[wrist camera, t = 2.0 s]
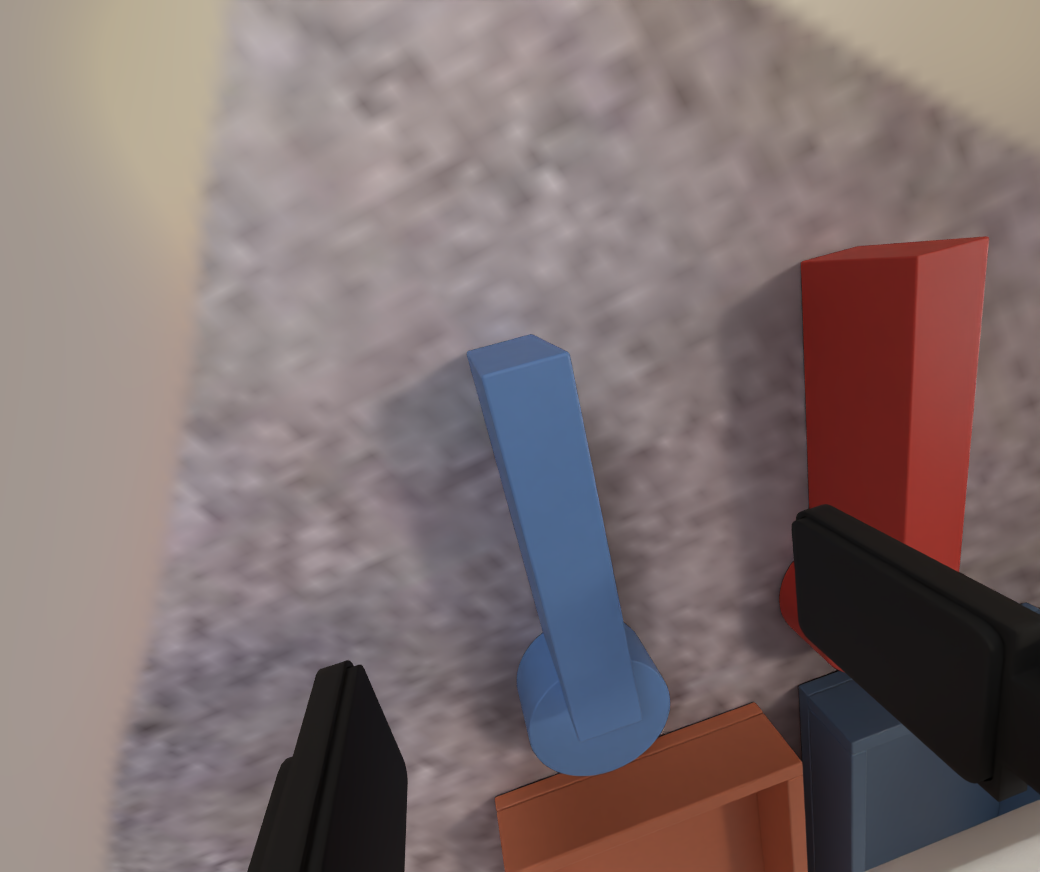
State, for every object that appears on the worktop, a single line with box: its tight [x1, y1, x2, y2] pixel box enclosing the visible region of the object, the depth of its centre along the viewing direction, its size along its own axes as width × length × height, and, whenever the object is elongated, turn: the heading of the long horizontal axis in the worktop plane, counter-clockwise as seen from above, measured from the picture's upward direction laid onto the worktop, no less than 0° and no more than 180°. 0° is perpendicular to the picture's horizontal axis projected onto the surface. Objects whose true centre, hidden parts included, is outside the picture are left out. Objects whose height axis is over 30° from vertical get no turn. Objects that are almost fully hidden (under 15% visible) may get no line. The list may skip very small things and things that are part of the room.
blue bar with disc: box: [467, 334, 670, 776], centre depth 13 cm, size 13×4×3 cm, turn 13°
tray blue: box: [799, 603, 1040, 872], centre depth 21 cm, size 17×10×2 cm, turn 13°
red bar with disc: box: [779, 237, 989, 672], centre depth 14 cm, size 13×4×3 cm, turn 13°
